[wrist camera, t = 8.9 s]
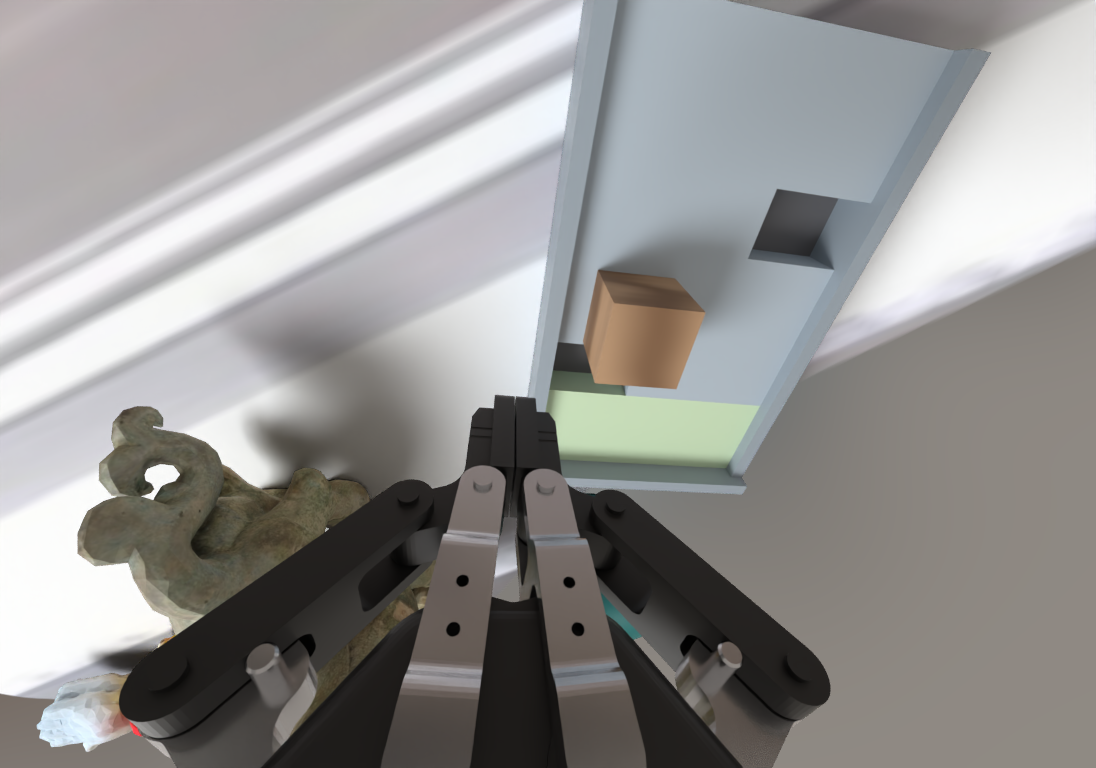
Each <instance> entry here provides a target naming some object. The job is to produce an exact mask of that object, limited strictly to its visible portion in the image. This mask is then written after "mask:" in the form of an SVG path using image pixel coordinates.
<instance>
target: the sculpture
mask: <svg viewBox="0 0 1096 768" xmlns="http://www.w3.org/2000/svg"><path fill="white" fill-rule="evenodd" d="M153 425H154V426H157V427H163V417H162V416H161V414H160V413H159V412H158V410H156V409H154V408H152V407H143V406H137V407H133V408H130V409H126V410H123V411H122V412H121V414H120V415H119V416H118V417H117V418H116V419H115V421H114V422H113V427H112V436H111V440H112V443H113V446H114V449H115V450H114V451H112V452H111V453H110V454H109V455H108V456H107V457H106V458H105V459H104V460H103V461H101V462H100V463H99V481H100V482H101V483H102V484H103V486H104V487H105V488H106V489H107V490H108V492H109V493H110V494H111V495H113V496H117V497H115V498H112V499H109V500H106V501H103V502H101V503H100V504H98V505H97V506H95V507H93V508H92V509H90V510H88V511H87V513H86V515H85V517H84V519H83V522H82V524H81V526H80V529H79V531H78V554H79V555H80V556H82V557H83V558H84V559H86V560H87V561H89V562H90V563H91V564H93V565H94V566H103V565H114V564H121V563H128V564H129V567H130V570H131V573H132V576H133V579H134V581H135V583H136V584H137V586H138V588H139V590H140V592H141V593H142V595H143V597H144V599H145V600H146V601H147V603H148V604H149V606H150V607H151V608H152V610H154V611H156V612H158V613H160V614H162V615H165V616H167V617H169V620H170V622H171V625H172V628H173V630H174V633H175V635H177V634H179V633H180V632H182V631H183V630H184V629H186V628H187V627H189V626H190V625H192V624H193V623H195V622H196V621H197V620H199V619H200V618H202V617H203V616H205V615H206V614H208V613H209V612H210V611H212V610H213V609H215V608H216V607H218V606H219V605H221V604H222V603H223V602H225V601H226V600H228V599H229V598H231V597H232V596H234V595H235V594H236V593H238V592H239V591H241V590H242V589H244V588H245V587H246V586H248V585H249V584H251V583H252V582H254V581H255V580H257V579H258V578H259V577H261V576H262V575H264V574H265V573H267V572H268V571H270V570H271V569H272V568H274V567H275V566H277V565H278V564H280V563H281V562H283V561H284V560H285V559H287V558H288V557H290V556H291V555H293V554H294V553H296V552H297V551H298V550H300V549H301V548H303V547H304V546H306V545H307V544H309V543H310V542H311V541H313V540H314V539H316V538H317V537H319V536H320V535H322V534H323V533H324V532H325V529H326V528H329V529H330V528H332V527H333V526H335V525H336V524H337V523H339V522H340V521H342V520H343V519H345V518H346V517H348V516H349V515H350V514H352V513H353V512H355V511H356V510H358V509H359V508H361V507H362V506H363V505H365V504H366V503H368V502H369V501H370V499H369V495H368V493H367V491H366V489H365V488H364V487H363V486H362V485H360V484H359V483H357V482H354V481H348V480H339V479H336V480H332V481H328V480H327V479H326V478H325V476H324V475H323V474H322V473H321V471H318V470H316V469H313V468H302V469H299V470H297V471H295V472H294V475H293V477H292V480H291V483H290V486H289V488H288V489H269V490H262V489H260V488H257V487H255V486H253V485H251V484H249V483H247V482H246V481H245V480H243V479H242V478H241V477H240V476H239V475H238V474H236V473H235V472H234V471H233V470H232V469H230V468H229V467H227V466H225V465H222V463H221V460H220V458H219V455H218V453H217V452H216V451H215V450H214V449H213V448H212V447H211V446H210V445H208V444H207V443H206V442H204V441H202V440H199V439H197V438H194V437H192V436H189V435H187V434H183V433H177V432H172V431H166V430H160V429H156V428H153ZM159 464H166V465H174V467H175V468H176V469H177V471H178V472H179V473H180V476H179V477H178V478H177V480H176V481H175V482H171V483H168V484H166V485H163V486H162V487H161V488H160V490H159V491H158V493H157V494H156V496H155V498H154V500H151V499H148V498H144V497H141V496H143V495H146V494H149V493H151V492H152V491H153V490H154V488H153V486H152V484H151V483H149V482H147V481H145V476H144V474H145V472H146V470H147V469H148V468H150V467H153V466H156V465H159ZM435 563H436V560H433V562H432V564H431V565H430V566H429V567H428V569H426V570H425V571H424V572H423V573H422V574H421V575H420V576H419V577H418V578H417V579H416V580H415V581H414V582H413V583H412V584H410V585H409V586H408V587H407V588H406V589H405V590H404V591H403V592H402V593H401V594H400V595H399V596H398V597H397V598H396V599H395V600H393V601H392V602H391V603H390V604H389V605H388V606H387V607H386V608H385V609H384V610H383V611H382V612H381V613H380V614H379V615H378V616H376V617H375V618H374V619H373V620H372V621H371V622H370V623H369V624H368V625H367V626H366V627H365V628H364V629H363V630H362V631H360V632H359V633H358V634H357V635H356V636H355V637H354V638H353V639H352V640H351V641H350V642H349V643H348V644H347V645H346V646H345V647H343V648H342V649H341V650H340V651H339V652H338V653H337V654H336V655H335V656H334V657H333V658H332V659H331V660H330V661H329V662H327V663H326V664H325V665H324V666H323V667H322V668H321V669H320V670H319V671H318V672H317V673H316V674H317V679H318V685H317V691H316V694H315V697H314V699H313V701H312V703H311V705H310V706H309V708H308V709H307V711H306V712H305V713H304V714H303V716H302V717H301V718H300V719H299V721H298V722H297V723H296V725H295V726H294V728H293V730H292V732H291V734H290V736H291V735H292V734H293V733H294V732H295V731H296V730H297V729H298V728H299V727H300V725H301V724H302V723H303V722H304V721H305V720H306V719H307V718H308V717H309V716H310V715H311V714H312V713H313V712H314V711H315V710H316V709H317V708H318V706H319V705H320V704H321V703H322V702H323V701H324V700H325V699H326V698H327V697H328V696H329V695H330V694H331V693H332V692H333V691H334V690H335V688H336V687H337V686H338V685H339V684H340V683H341V682H342V681H343V680H344V679H345V678H346V677H347V676H348V675H349V674H350V673H351V672H352V671H353V669H354V668H355V667H356V666H357V665H358V664H359V663H360V662H361V661H362V660H363V659H364V658H365V657H366V656H367V655H368V654H369V653H370V651H371V650H372V649H373V648H374V647H375V646H376V645H377V644H378V643H379V642H380V641H381V640H382V639H383V638H384V637H385V636H386V635H387V633H388V632H389V631H390V630H391V629H392V628H393V627H395V626H396V625H397V624H398V623H399V622H400V621H402V620H403V619H404V618H406V617H407V616H409V615H410V614H412V613H414V612H416V611H418V610H419V609H422V608H424V606H425V602H426V598H427V594H428V590H429V587H430V583H431V579H432V575H433V571H434V567H435ZM290 736H289V737H290Z"/></svg>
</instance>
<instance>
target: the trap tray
mask: <svg viewBox="0 0 1096 768" xmlns="http://www.w3.org/2000/svg"><path fill="white" fill-rule="evenodd" d="M990 54H991V52H986V51H982V50H977V49H965V50H956V51H954V50H949V49H945V48H940V47H936V46H931V45H927V44H922V43H917V42H913V41H908V40H904V39H899V38H895V37H890V36H886V35H881V34H877V33H872V32H868V31H863V30H859V29H854V28H850V27H845V26H840V25H836V24H831V23H827V22H822V21H818V20H813V19H809V18H804V17H800V16H795V15H791V14H786V13H782V12H777V11H772V10H768V9H763V8H759V7H754V6H750V5H745V4H741V3H736V2H732V1H727V0H584V2H583V9H582V16H581V23H580V30H579V37H578V44H577V51H576V58H575V65H574V72H573V79H572V87H571V94H570V101H569V108H568V115H567V122H566V129H565V136H564V143H563V150H562V157H561V164H560V171H559V178H558V186H557V193H556V200H555V207H554V214H553V221H552V228H551V235H550V242H549V249H548V256H547V263H546V270H545V277H544V284H543V292H542V299H541V306H540V313H539V320H538V327H537V334H536V341H535V348H534V355H533V362H532V369H531V376H530V383H529V391H528V397H530V398H536V408H537V412H549V414H550V415H551V416H552V418H553V419H554V421H555V423H556V431H557V439H558V447H559V455H560V463H561V471H562V476H563V477H564V479H565V480H566V482H567V484H568V485H569V486H571V487H589V488H612V489H613V488H614V489H634V490H636V489H637V490H657V491H680V492H702V493H725V494H743V492H744V491H745V489H746V487H747V486H746V484H745V482H744V481H743V479H742V476H743V474H744V473H745V471H746V469H747V467H748V466H749V464H750V462H751V461H752V459H753V457H754V456H755V454H756V452H757V450H758V449H759V447H760V445H761V444H762V442H763V440H764V439H765V437H766V435H767V433H768V432H769V430H770V428H771V426H772V425H773V423H774V422H775V420H776V418H777V416H778V415H779V413H780V411H781V410H782V408H783V406H784V405H785V403H786V401H787V399H788V398H789V396H790V394H791V392H792V391H793V389H794V387H795V386H796V384H797V382H798V381H799V379H800V377H801V376H802V374H803V372H804V370H805V369H806V367H807V365H808V364H809V362H810V360H811V359H812V357H813V355H814V353H815V352H816V350H817V348H818V347H819V345H820V343H821V342H822V340H823V338H824V336H825V335H826V333H827V331H828V330H829V328H830V326H831V324H832V323H833V321H834V319H835V318H836V316H837V314H838V313H839V311H840V309H841V307H842V306H843V304H844V302H845V301H846V299H847V297H848V296H849V294H850V292H851V290H852V289H853V287H854V285H855V284H856V282H857V280H858V279H859V277H860V275H861V273H862V272H863V270H864V268H865V267H866V265H867V263H868V262H869V260H870V258H871V256H872V255H873V253H874V251H875V250H876V248H877V246H878V244H879V243H880V241H881V239H882V238H883V236H884V234H885V233H886V231H887V229H888V227H889V226H890V224H891V222H892V221H893V219H894V217H895V216H896V214H897V212H898V210H899V209H900V207H901V205H902V204H903V202H904V200H905V199H906V197H907V195H908V193H909V192H910V190H911V188H912V187H913V185H914V183H915V181H916V180H917V178H918V176H919V175H920V173H921V171H922V170H923V168H924V166H925V164H926V163H927V161H928V159H929V158H930V156H931V154H932V153H933V151H934V149H935V147H936V146H937V144H938V142H939V141H940V139H941V137H942V136H943V134H944V132H945V130H946V129H947V127H948V125H949V124H950V122H951V120H952V118H953V117H954V115H955V113H956V112H957V110H958V108H959V107H960V105H961V103H962V101H963V100H964V98H965V96H966V95H967V93H968V91H969V90H970V88H971V86H972V84H973V83H974V81H975V79H976V78H977V76H978V74H979V73H980V71H981V69H982V67H983V66H984V64H985V62H986V61H987V59H988V57H989V56H990ZM598 270H604V271H613V272H622V273H631V274H640V275H649V276H658V277H667V278H675V279H676V280H677V281H678V282H679V283H680V284H681V285H682V287H683V288H684V289H685V290H686V291H687V292H688V293H689V294H690V296H691V297H692V298H693V299H694V300H695V301H696V302H697V303H698V304H699V306H700V307H701V308H702V309H703V310H704V311H705V312H706V313H705V316H704V318H703V321H702V324H701V326H700V329H699V332H698V334H697V337H696V339H695V342H694V345H693V347H692V350H691V352H690V355H689V358H688V360H687V363H686V365H685V368H684V371H683V373H682V376H681V379H680V381H679V384H678V386H677V389H665V388H651V387H638V386H625V385H611V384H598V383H594V379H593V375H592V372H591V368H590V365H589V361H588V358H587V354H586V351H585V347H584V344H583V338H584V334H585V329H586V324H587V319H588V314H589V309H590V305H591V300H592V295H593V290H594V285H595V281H596V276H597V271H598Z"/></svg>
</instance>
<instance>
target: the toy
mask: <svg viewBox="0 0 1096 768" xmlns="http://www.w3.org/2000/svg"><path fill="white" fill-rule="evenodd" d="M174 636H176V635H174ZM174 636H172V637H171V638H173V637H174ZM171 638H165V639H163V640H162V641H161V642H160V643H159V645H158V647H160V646H161V645H163V644H164V643H166V642H167V641H169V640H170V639H171ZM129 675H130V674H126V675H119V674H115V673H110V674H106V675H102V676H96V677H93V678H86V679H78V680H77V681H72V682H68V683H66V684H64V685H63V686H62V687H61V688H60V689H59V691H58V692H59V693H58V694H57V696H56V699H55V702H54V703H53V704H51V705H50V706H48V707H47V708H46V709H45V710H44V712H43V716H42V718H41V719H42V720H41V721H40V722H39V724H38V725H37V728H38V729H41V732H40V738H41V739H43V740H46V741H49V742H50V745H51V747H55V746H60V747H61V746H64V745H68V744H76V743H81V742H84V744H83V746H84V747H85V749H86V752H89V751H91V750H93V749H95V748H96V747H97V746H98V745H99V744H100V743H104V742H107V741H110V740H113V739H115V738H118V737H119V736H121V735H123V734H127V733H128V732H130V731H132V730H133V732H134V734H136V735H139V736H142V735H141V734H140V733H139V731H138V728H137V727H136V726H135V725H134V724H133V723H132V722H130V721H129V720H128V719H127V718H126V717H125V716H124V715H123V714H122V713H121V711H120V708H119V696H120V692H121V689H122V687H123V685H124V683H125V681H126V679H127V677H128V676H129Z"/></svg>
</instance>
